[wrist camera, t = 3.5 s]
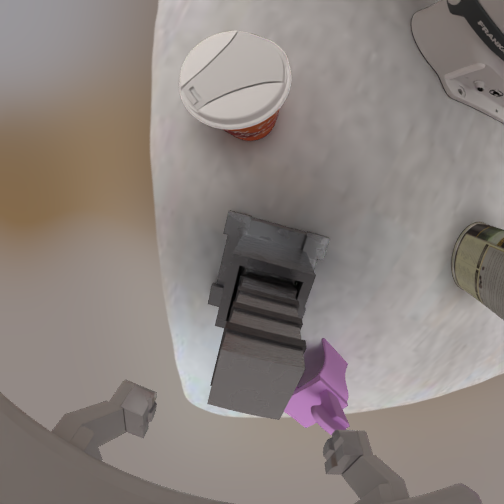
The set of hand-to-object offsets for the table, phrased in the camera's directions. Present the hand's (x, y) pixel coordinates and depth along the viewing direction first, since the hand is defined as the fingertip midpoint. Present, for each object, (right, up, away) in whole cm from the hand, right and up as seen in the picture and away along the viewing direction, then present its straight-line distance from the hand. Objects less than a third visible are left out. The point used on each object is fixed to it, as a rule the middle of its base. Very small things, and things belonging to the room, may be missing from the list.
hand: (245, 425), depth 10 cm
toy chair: (+8, -9, +25) cm, 28 cm away
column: (+2, +5, +20) cm, 20 cm away
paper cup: (0, +22, +18) cm, 29 cm away
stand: (+2, +6, +22) cm, 23 cm away
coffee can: (+32, +7, +19) cm, 38 cm away
